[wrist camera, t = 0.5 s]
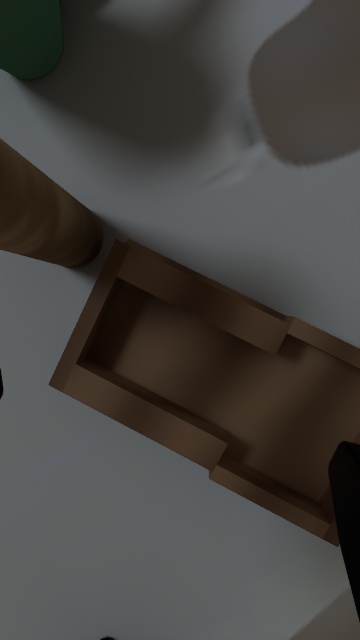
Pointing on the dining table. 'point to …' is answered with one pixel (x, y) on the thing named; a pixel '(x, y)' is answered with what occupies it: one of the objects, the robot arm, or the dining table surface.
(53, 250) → the peg
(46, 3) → the mug
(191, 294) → the tray
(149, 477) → the dining table surface
